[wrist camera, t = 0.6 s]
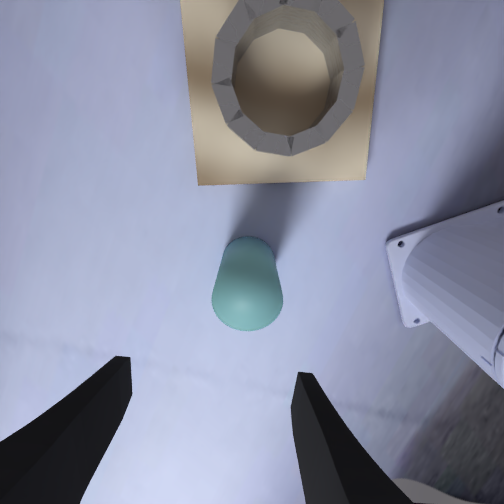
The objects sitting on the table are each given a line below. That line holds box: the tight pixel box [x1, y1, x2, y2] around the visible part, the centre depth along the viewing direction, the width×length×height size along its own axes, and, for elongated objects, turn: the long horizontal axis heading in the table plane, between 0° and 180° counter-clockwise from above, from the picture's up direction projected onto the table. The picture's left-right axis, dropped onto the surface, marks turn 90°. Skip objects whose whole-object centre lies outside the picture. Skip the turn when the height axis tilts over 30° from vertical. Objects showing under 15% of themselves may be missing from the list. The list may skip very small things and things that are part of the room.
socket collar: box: [211, 0, 365, 156], centre depth 15 cm, size 8×8×2 cm
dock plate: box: [180, 0, 384, 186], centre depth 16 cm, size 11×11×1 cm
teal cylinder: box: [212, 236, 283, 331], centre depth 18 cm, size 4×4×6 cm
